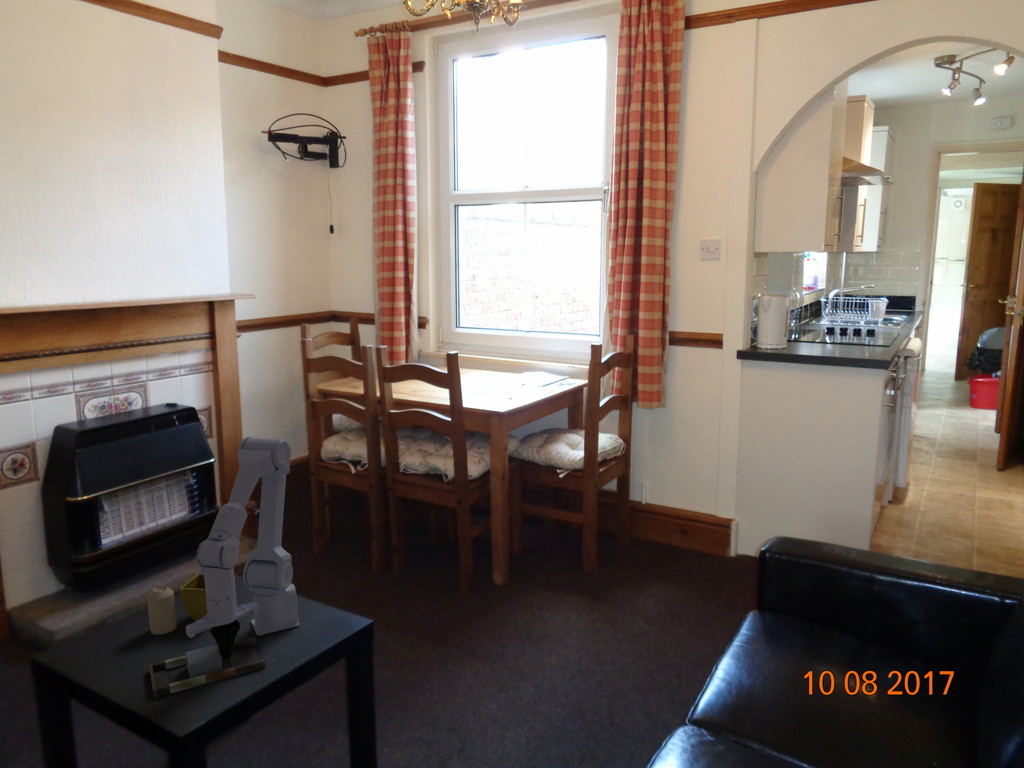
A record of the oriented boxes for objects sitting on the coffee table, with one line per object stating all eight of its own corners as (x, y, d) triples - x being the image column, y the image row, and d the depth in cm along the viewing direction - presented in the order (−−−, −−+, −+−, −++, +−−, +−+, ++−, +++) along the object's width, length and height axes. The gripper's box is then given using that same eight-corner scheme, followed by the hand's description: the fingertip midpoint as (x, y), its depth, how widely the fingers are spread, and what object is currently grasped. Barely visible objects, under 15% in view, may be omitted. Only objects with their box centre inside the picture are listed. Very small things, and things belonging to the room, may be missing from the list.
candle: (166, 636, 167) (162, 594, 165) (145, 633, 168) (140, 592, 166) (181, 624, 172) (178, 584, 171) (161, 622, 173) (157, 582, 172)
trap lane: (255, 644, 163) (254, 637, 163) (265, 667, 153) (264, 661, 153) (149, 671, 153) (149, 664, 153) (153, 697, 143) (153, 690, 143)
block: (217, 659, 157) (216, 644, 156) (222, 672, 152) (221, 657, 151) (187, 667, 154) (185, 652, 153) (191, 681, 149) (189, 665, 148)
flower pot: (201, 607, 181) (198, 572, 179) (235, 608, 180) (232, 573, 178) (182, 625, 172) (178, 588, 170) (217, 626, 171) (214, 590, 170)
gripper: (245, 578, 160) (249, 636, 162) (177, 600, 150) (183, 662, 152) (261, 587, 155) (265, 647, 158) (192, 611, 145) (198, 675, 147)
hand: (226, 655), depth 155 cm, fingers closed
